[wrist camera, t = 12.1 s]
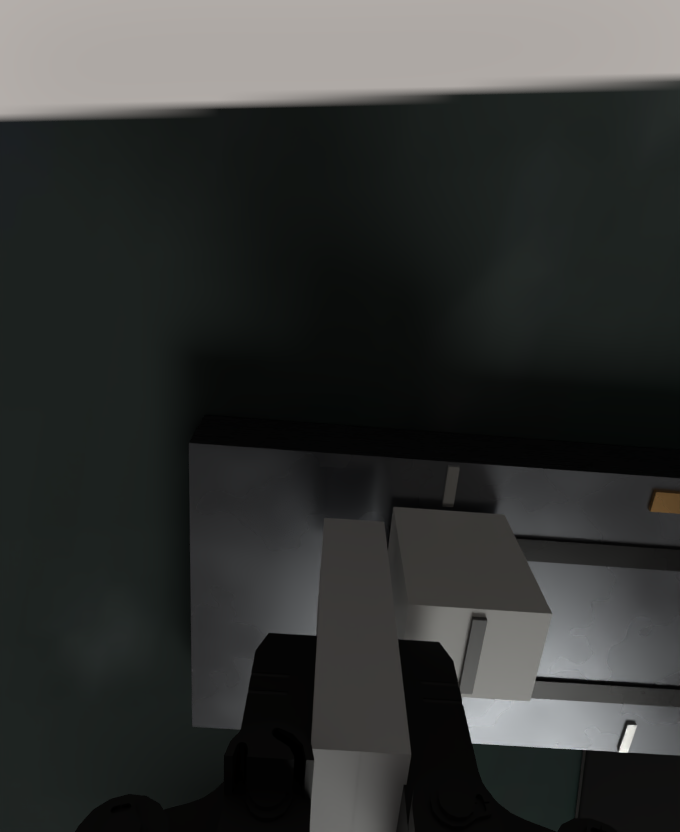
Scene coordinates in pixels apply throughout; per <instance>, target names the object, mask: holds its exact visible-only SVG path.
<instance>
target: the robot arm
mask: <svg viewBox="0 0 680 832" xmlns="http://www.w3.org/2000/svg"><path fill="white" fill-rule="evenodd" d="M75 832H556V831H553V830H550V829H548V828H545V827H542V826H540V825H537V824H534V823H532V822H529V821H527V820H524V819H522V818H520V817H518V816H516V815H514V814H512V813H510V812H509V811H508V810H506V809H505V808H504V807H502V806H501V805H500V804H499V803H498V802H497V801H496V800H495V799H494V798H493V797H492V795H491V794H490V792H489V791H488V790H487V789H486V787H485V786H484V784H483V783H482V780H481V777H480V775H479V772H478V768H477V764H476V759H475V755H474V750H473V746H472V741H471V737H470V732H469V728H468V724H467V719H466V715H465V710H464V706H463V705H462V697H461V692H460V688H459V687H458V679H457V675H456V670H455V666H454V661H453V660H452V658H451V657H450V656H449V654H448V653H447V652H446V650H445V649H444V648H443V646H442V645H441V643H440V642H434V641H418V640H402V639H398V636H397V627H396V619H395V610H394V602H393V593H392V584H391V576H390V567H389V559H388V550H387V541H386V533H385V524H384V522H379V521H365V520H350V519H335V518H324V527H323V541H322V554H321V568H320V581H319V595H318V609H317V625H316V636H313V635H297V634H281V633H268V635H267V636H266V637H265V638H264V640H263V641H262V642H261V644H260V645H259V646H258V648H257V649H256V650H255V655H254V661H253V666H252V671H251V677H250V682H249V688H248V693H247V698H246V704H245V709H244V715H243V720H242V725H241V731H240V732H239V733H238V734H237V735H236V736H235V737H234V738H233V739H232V740H231V741H230V743H229V746H228V748H227V750H226V753H225V755H224V782H223V783H222V784H221V785H220V786H219V787H218V788H217V789H216V790H215V791H213V792H212V793H210V794H208V795H207V796H205V797H204V798H201V799H199V800H196V801H194V802H191V803H187V804H184V805H180V806H176V807H173V808H169V809H165V810H163V808H162V807H161V805H160V804H159V803H157V802H156V801H154V800H152V799H150V798H149V797H147V796H141V795H131V794H128V795H124V796H120V797H116V798H113V799H110V800H108V801H107V802H105V803H103V804H102V805H100V806H98V807H97V808H95V809H94V810H93V811H92V812H91V813H90V814H89V815H88V816H87V817H86V818H85V819H84V821H83V822H82V823H81V824H80V825H79V826H78V828H77V829H76V831H75ZM558 832H618V831H617V830H615V829H614V828H613V827H611V826H610V825H608V824H605V823H602V822H599V821H597V820H594V819H591V818H574V819H572V820H570V821H568V822H566V823H564V824H562V825H561V827H560V828H559V830H558Z"/></svg>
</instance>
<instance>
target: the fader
mask: <svg viewBox="0 0 680 832" xmlns="http://www.w3.org/2000/svg"><path fill="white" fill-rule="evenodd" d="M388 559H389V567H390V576H391V584H392V593H393V602H394V610H395V619H396V627H397V636H398V639H402V640H418V641H434V642H440V643H441V645H442V646H443V648H444V649H445V650H446V652H447V653H448V654H449V656H450V657H451V658H452V660H453V661H454V666H455V670H456V675H457V679H458V687H459V688H460V692H461V697H467V698H484V699H500V700H516V701H530V700H531V696H532V692H533V688H534V684H535V680H536V676H537V672H538V668H539V665H540V661H541V657H542V653H543V649H544V645H545V641H546V637H547V633H548V629H549V625H550V621H551V617H552V612H551V610H550V608H549V606H548V604H547V602H546V600H545V598H544V596H543V593H542V591H541V589H540V587H539V585H538V583H537V581H536V579H535V577H534V575H533V573H532V571H531V569H530V567H529V565H528V562H527V560H526V558H525V556H524V554H523V552H522V550H521V548H520V546H519V544H518V542H517V540H516V538H515V536H514V533H513V531H512V529H511V527H510V525H509V523H508V521H507V519H506V517H505V515H504V514H489V513H475V512H461V511H446V510H432V509H418V508H403V507H393V513H392V521H391V529H390V537H389V545H388Z"/></svg>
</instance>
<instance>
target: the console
mask: <svg viewBox="0 0 680 832" xmlns="http://www.w3.org/2000/svg"><path fill="white" fill-rule="evenodd" d="M189 500H190V582H191V663H192V727H205V728H222V729H239V730H241V725H242V720H243V715H244V709H245V704H246V698H247V693H248V688H249V682H250V677H251V671H252V666H253V661H254V655H255V650H256V649H257V648H258V646H259V645H260V644H261V642H262V641H263V640H264V638H265V637H266V636H267V635H268V633H281V634H297V635H313V636H316V625H317V609H318V595H319V581H320V568H321V554H322V541H323V527H324V518H335V519H350V520H365V521H379V522H384V524H385V533H386V541H387V550H388V545H389V537H390V529H391V521H392V513H393V507H403V508H418V509H432V510H446V511H461V512H475V513H489V514H504V515H505V517H506V519H507V521H508V523H509V525H510V527H511V529H512V531H513V533H514V536H515V538H516V540H517V542H518V544H519V546H520V548H521V550H522V552H523V554H524V556H525V558H526V560H527V562H528V565H529V567H530V569H531V571H532V573H533V575H534V577H535V579H536V581H537V583H538V585H539V587H540V589H541V591H542V593H543V596H544V598H545V600H546V602H547V604H548V606H549V608H550V610H551V612H552V617H551V621H550V625H549V629H548V633H547V637H546V641H545V645H544V649H543V653H542V657H541V661H540V665H539V668H538V672H537V676H536V680H535V684H534V688H533V692H532V696H531V700H530V701H516V700H500V699H484V698H467V697H462V705H463V706H464V710H465V715H466V719H467V724H468V728H469V732H470V737H471V741H472V743H476V744H493V745H510V746H527V747H544V748H561V749H578V750H595V751H612V752H623V753H628V752H629V753H645V754H662V755H679V756H680V450H673V449H659V448H646V447H632V446H618V445H605V444H591V443H578V442H564V441H550V440H537V439H523V438H510V437H496V436H482V435H469V434H455V433H442V432H428V431H414V430H401V429H387V428H374V427H360V426H346V425H333V424H319V423H306V422H292V421H278V420H265V419H251V418H238V417H224V416H210V415H204V417H203V419H202V421H201V422H200V424H199V426H198V428H197V429H196V431H195V433H194V435H193V436H192V438H191V440H190V442H189Z"/></svg>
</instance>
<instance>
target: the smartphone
mask: <svg viewBox="0 0 680 832" xmlns="http://www.w3.org/2000/svg"><path fill="white" fill-rule="evenodd" d="M575 818H591V819H594V820H597V821H599V822H602V823H605V824H608V825H610V826H611V827H613V828H614V829H615V830H617V831H618V832H680V756H679V755H662V754H645V753H629V752H628V753H623V752H612V751H595V750H583V756H582V765H581V773H580V781H579V790H578V798H577V806H576V815H575Z"/></svg>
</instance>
